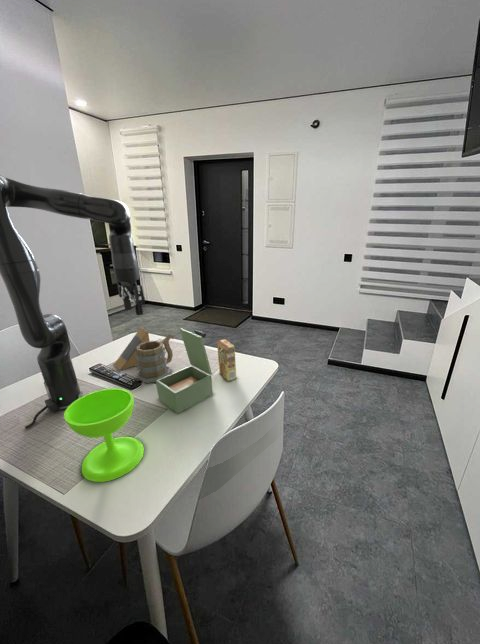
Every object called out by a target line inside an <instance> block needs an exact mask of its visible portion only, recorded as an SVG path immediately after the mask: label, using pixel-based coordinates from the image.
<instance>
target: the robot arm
mask: <svg viewBox="0 0 480 644" xmlns="http://www.w3.org/2000/svg"><path fill="white" fill-rule="evenodd" d="M7 208H26V209H27V208H28V209H34V210H35V209H36V210H41V211H46V212H49V213H52V214H57V215H62V216H66V217H71V218H76V219H77V218H78V219H84V220H92V221H96V222H101V223H105V224H108V230H109V235H108V243H109V249H110V252H111V264H112V267H113V273H114V277H115V281H116V285H117V292H118V297H119V298H121V300H122V301H123V307H124V310H125V311H131V310H132V302H133V304H134V310H135V311H134V312H135V315H136V316H142V315H144V311H143V310H144V309H143V304H145V303H146V301H145V300H146V299H145V295H144V289H143V285H142V284H140V285H139V284H138V283H137V281H138V280H141V279H140V278H141V276H140V270H139V269H140V268H139V265H138V259H137V254H136V251H135V246H134V245H135V244H134V239H133V235H132V221H131V215H130V211H129V208H128V206H127V205H126V204H125V203H124V202H122V201H119V200H116V199H112V198H106V197H105V198H104V197H97V196H91V195H88V194H86V193H81V192H75V191H71V190H63V189H58V188H49V187H40V186H36V185H31V184H27V183H24V182H20V181H17V180H15V179H11V178H8V177H6V176H2V175H1V174H0V277H1V279H2V281H3V283H4V284H5V288H6V291H7V294H8V297H9V298H10V301H11V304H12V306H13V309H14V310H13V311H14V312H15V317H16V320H17V323H18V327H19V330H20V333H21V336H22V338H23V340H24V341H25V342H26V343H27V344H28V345H29V346H31V348H34V349H40V351H39V353H38V354H37V357H36V360H37V364H38V367H39V369H40V370H39V371H40V373H41V375H42V379H43V384H44V388H45V391H46V394H47V397H48V398H47V399H44V400H43V401H44V404H45V406H44V407H43V408H41V409H40V410H39V411H38V412H37V413H36V414H35V415H34V417H33V418H32V419H33V420H32V422H31V423H28V425H25V427H24V429H26V430H27V429H29V428H31V427H33V426H34V425H35V423H36V422H37V419H38V417H39V416H40V415H41V414H42V413H43V412H45V411H46V410H47V409H48V411H49V412H50V413H53V412H57V411H60V410H61V411H63V410H66V409H67V407H68V406H69V405H70V404H72V403H73V402H74V401H76V400H77V399H79V398H80V397H82V396H83V391H82V390H81V389H80V385H79V381H78V378H77V374H76V371H75V368H74V364H73V361H72V358H71V353H70V352H71V343H70V338H69V337H70V336H69V333H68V328H67V326H66V324H65V322H64V320H62V319H61V317H60V316H57V315H56V314H53V313H45V314H43V312H42V309H41V305H40V291H41V273H40V270H39V267H38V264H37V262H36V259H35V256H34V253H33V252H32V250H31V249H30V247H29V246H28V245H27V243H26V242H25V240H24V239H23V237H21V235H20V234H19V232H18V231H17V229H16V227H14V224H13V222H12V220H11V217H10V214H9V211H8V209H7ZM131 301H132V302H131Z"/></svg>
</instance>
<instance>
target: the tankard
mask: <svg viewBox="0 0 480 644" xmlns="http://www.w3.org/2000/svg"><path fill="white" fill-rule="evenodd" d="M174 339H175V335H174V334H170V333H168V334H167V335H166V336H165V338H163V339H162V340H159V341H158V340H150V341H147V342H144V343H141V344H139V345H137V347H136V354H135V357H136V360H138V365H136V368H137V371H138V373H137V376H136V377H137V380H138V381H141V382H142V383H145V384H148V383H149V384H151V383H156V380H158V379H160V378H163V377H165V376H167V375H170V373H171V372H170V371H171V369H170V366H167V365H168V364H169V363H171V362H172V360H173V356H174V355H173V350H172V348H171V346H170V342H169V341H170V340H174ZM166 353H167V357H166Z"/></svg>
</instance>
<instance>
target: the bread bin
mask: <svg viewBox="0 0 480 644" xmlns="http://www.w3.org/2000/svg"><path fill="white" fill-rule="evenodd" d="M189 377H193V378H195V379H196V380H198V381H197V382H195V383H192V384H190V385H188V386H186V387H184V388H182V389H180V390H178V391H174V390H172V389H171V388H169V386H172V385H174V384H176V383H178V382H180V381H182V380H184V379H187V378H189ZM212 380H213V379H212V374H211V375H209V374H207V373H206V372H204V371H202V370H200V369H198V368H196V367H194V366H192V365H191V364H190V365H189V366H186V367H184V368H181V369H179V370H177V371H175V372H172V373H169V375H167V376H165V377H163V378H160V379H158V380H156V382H155V384H156V391H157V397H158V401H160V402H161V403H162V404H164V405H165V406H167V407H168V408H169V409H171V410H172V411H173V412H175V413H176V414H180V413H182V412H184V411H185V410H187V409H189V408H191V407H193V406H194V405H196V404H198V403H200V402H202V401H204V400H205V399H207V398H209V397H210V396H213V395H214V391H213V381H212Z"/></svg>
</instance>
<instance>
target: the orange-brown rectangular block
mask: <svg viewBox="0 0 480 644" xmlns="http://www.w3.org/2000/svg"><path fill="white" fill-rule="evenodd" d="M197 381H198V380H196V379H195V378H193V377H189V378H187V379H184V380H182V381H180V382H178V383H176V384H174V385H172V386H169V388H171V389H172V390H174V391H178V390H180V389H182V388H184V387H186V386H188V385H190V384H192V383H195V382H197Z"/></svg>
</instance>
